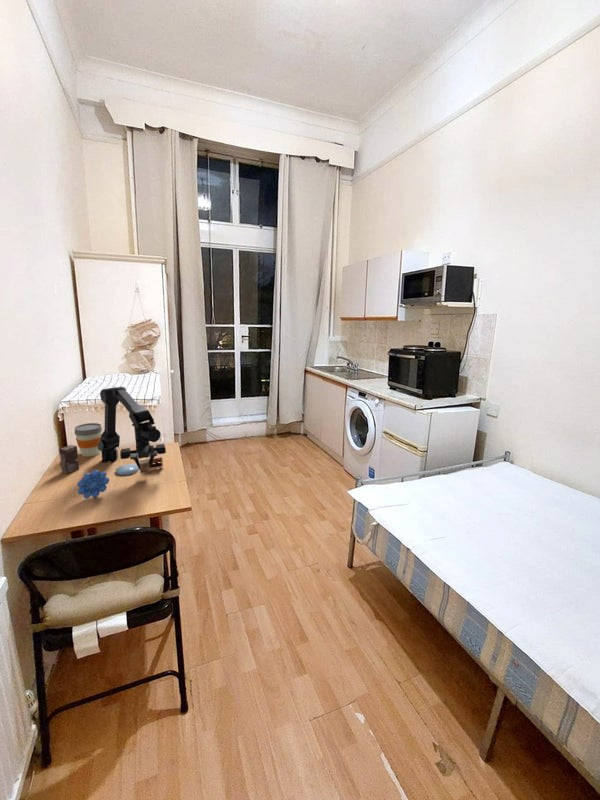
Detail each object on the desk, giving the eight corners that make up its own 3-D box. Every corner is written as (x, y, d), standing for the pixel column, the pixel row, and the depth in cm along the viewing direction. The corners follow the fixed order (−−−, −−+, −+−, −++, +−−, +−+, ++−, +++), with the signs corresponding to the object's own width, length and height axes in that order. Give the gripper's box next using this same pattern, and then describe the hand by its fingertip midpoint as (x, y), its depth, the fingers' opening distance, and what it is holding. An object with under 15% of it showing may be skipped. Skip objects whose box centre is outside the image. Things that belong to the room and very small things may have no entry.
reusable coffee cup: (96, 458, 183) (92, 431, 180) (72, 457, 183) (68, 430, 180) (109, 449, 195) (106, 423, 192) (86, 448, 196) (83, 422, 192)
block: (140, 473, 161) (139, 464, 160) (140, 469, 164) (139, 460, 163) (150, 471, 162) (149, 462, 161) (149, 468, 166) (148, 459, 165)
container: (147, 470, 171) (146, 459, 170) (146, 464, 178) (145, 453, 176) (163, 468, 174) (162, 457, 173) (162, 462, 181) (161, 451, 179)
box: (68, 474, 166) (64, 450, 163) (61, 472, 167) (58, 448, 164) (80, 469, 171) (77, 445, 168) (74, 467, 173) (70, 444, 170)
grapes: (110, 489, 153) (107, 463, 150) (111, 496, 148) (108, 470, 145) (79, 495, 147) (75, 469, 144) (78, 503, 142) (74, 476, 139)
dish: (113, 476, 165) (112, 473, 165) (119, 466, 174) (118, 464, 174) (136, 474, 167) (135, 472, 167) (140, 465, 176) (140, 463, 176)
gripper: (118, 445, 148) (122, 479, 152) (165, 440, 156) (167, 472, 160) (119, 436, 158) (122, 468, 162) (163, 432, 166) (165, 462, 169)
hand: (144, 468), depth 163 cm, fingers closed on block, 4 cm apart
